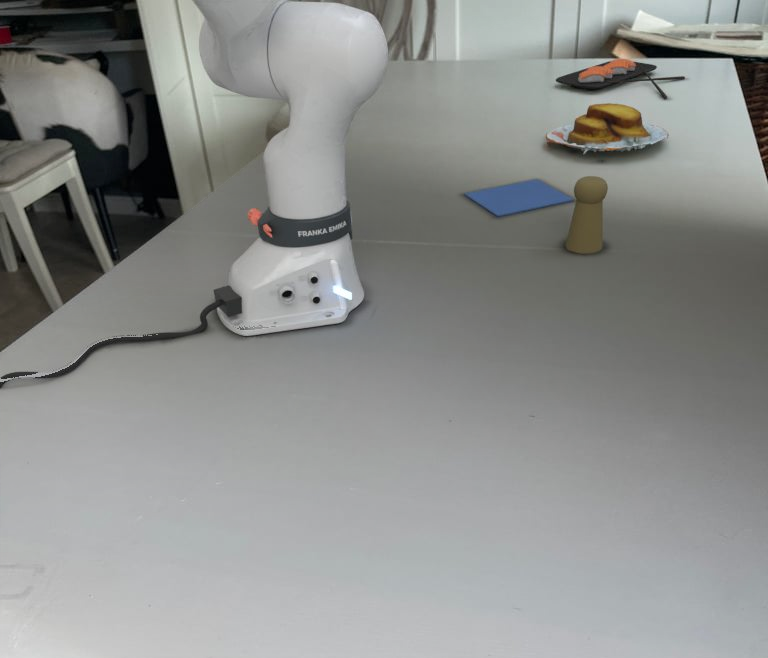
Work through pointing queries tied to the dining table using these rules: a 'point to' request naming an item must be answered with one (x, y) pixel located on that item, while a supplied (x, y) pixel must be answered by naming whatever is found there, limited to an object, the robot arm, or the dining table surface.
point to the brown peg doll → (587, 216)
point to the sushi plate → (611, 75)
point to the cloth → (518, 197)
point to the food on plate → (608, 130)
